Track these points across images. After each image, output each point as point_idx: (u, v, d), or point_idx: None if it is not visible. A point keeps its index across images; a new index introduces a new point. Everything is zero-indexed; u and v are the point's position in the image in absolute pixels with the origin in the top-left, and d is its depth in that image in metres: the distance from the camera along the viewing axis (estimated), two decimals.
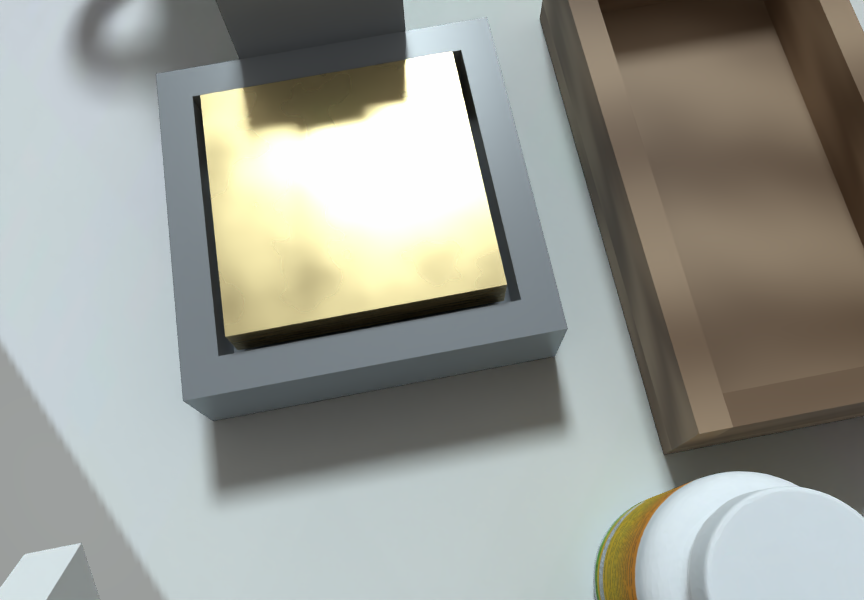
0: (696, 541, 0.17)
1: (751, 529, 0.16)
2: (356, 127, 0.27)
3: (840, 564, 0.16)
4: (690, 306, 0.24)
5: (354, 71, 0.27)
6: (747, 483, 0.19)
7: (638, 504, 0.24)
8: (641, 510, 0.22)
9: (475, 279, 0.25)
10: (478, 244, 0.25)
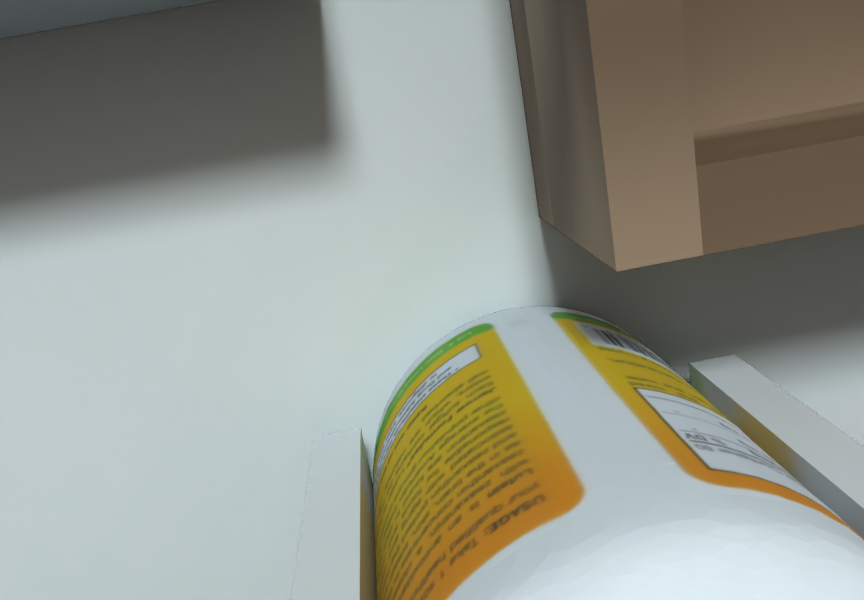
0: None
1: None
2: None
3: None
4: None
5: None
6: None
7: (465, 353, 0.11)
8: (450, 447, 0.09)
9: None
10: None
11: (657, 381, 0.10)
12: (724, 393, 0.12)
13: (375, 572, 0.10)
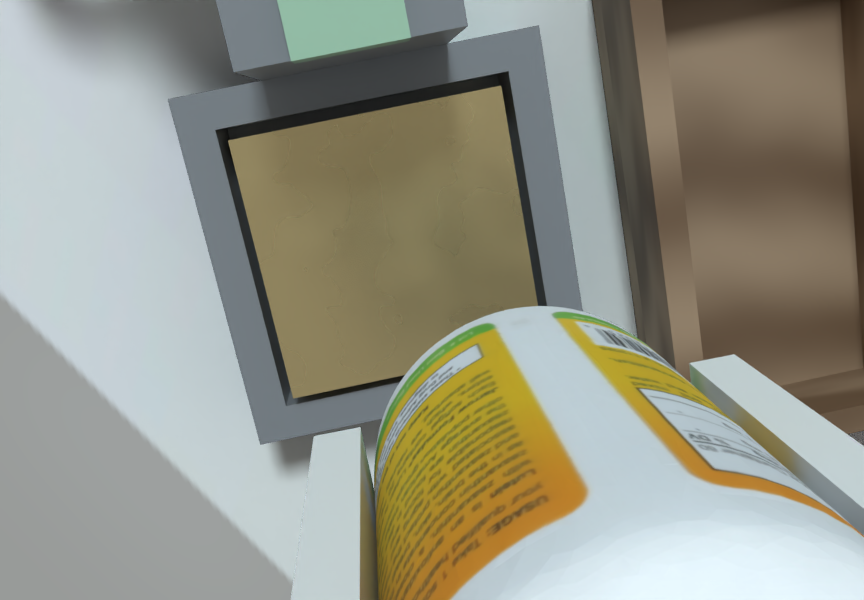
0: None
1: None
2: (400, 181, 0.26)
3: None
4: None
5: (395, 111, 0.25)
6: None
7: (467, 353, 0.11)
8: (453, 447, 0.09)
9: None
10: None
11: (660, 381, 0.10)
12: (724, 393, 0.12)
13: (375, 572, 0.10)
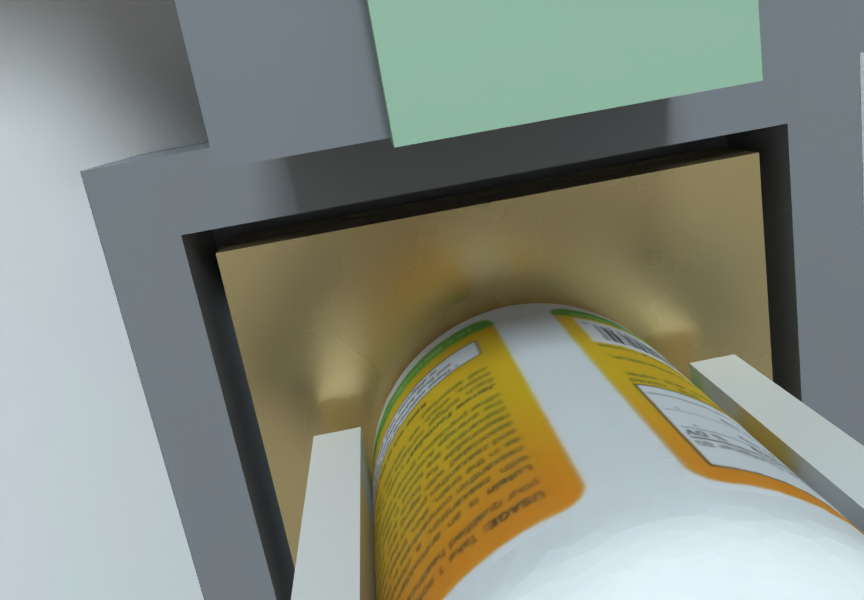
0: None
1: None
2: None
3: None
4: None
5: (549, 199, 0.13)
6: (734, 599, 0.06)
7: (465, 350, 0.11)
8: (450, 444, 0.09)
9: None
10: None
11: (657, 377, 0.10)
12: (724, 393, 0.12)
13: None
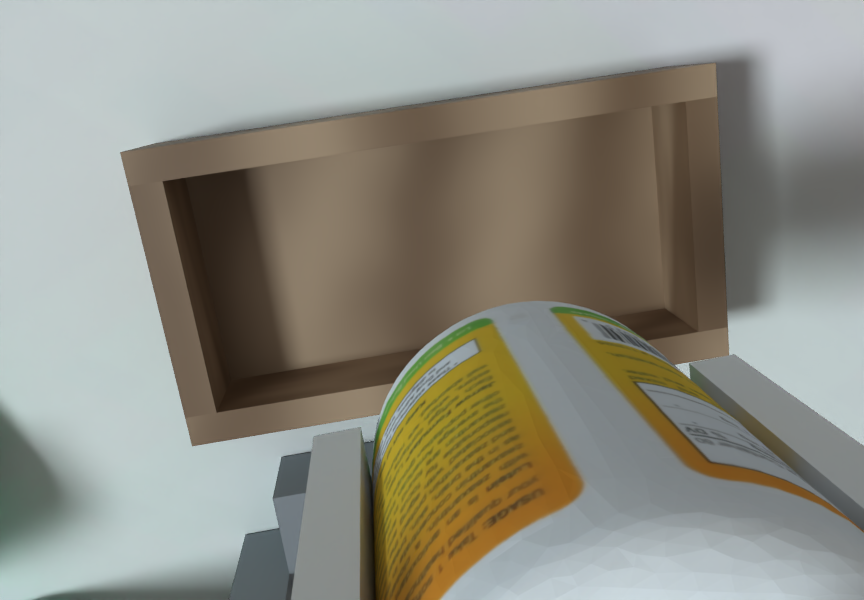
0: None
1: None
2: None
3: None
4: None
5: None
6: (733, 597, 0.06)
7: (464, 348, 0.11)
8: (449, 441, 0.09)
9: None
10: None
11: (657, 375, 0.10)
12: (724, 393, 0.12)
13: None
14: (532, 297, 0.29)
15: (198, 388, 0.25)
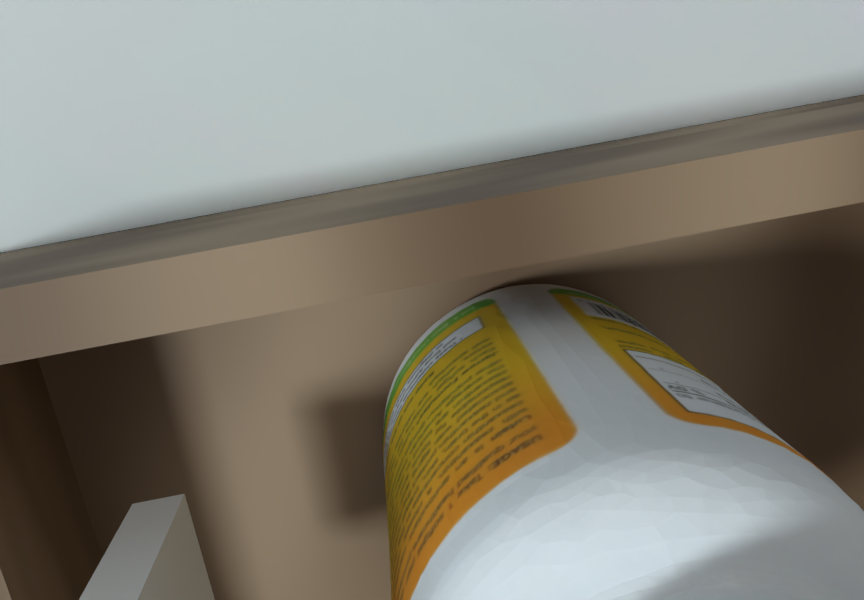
0: None
1: None
2: None
3: None
4: None
5: None
6: (703, 516, 0.07)
7: (469, 325, 0.12)
8: (456, 404, 0.10)
9: None
10: None
11: (645, 345, 0.11)
12: None
13: None
14: None
15: None
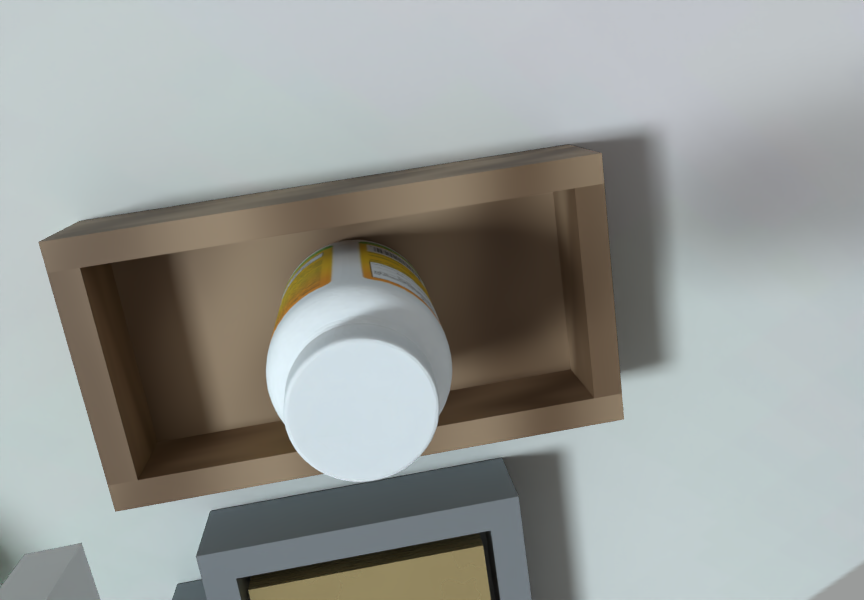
0: (293, 365, 0.20)
1: (326, 371, 0.20)
2: None
3: (393, 397, 0.20)
4: (519, 415, 0.28)
5: None
6: (359, 302, 0.22)
7: (317, 256, 0.27)
8: (300, 282, 0.25)
9: (476, 568, 0.30)
10: (446, 566, 0.30)
11: (383, 261, 0.25)
12: None
13: None
14: None
15: (120, 458, 0.27)
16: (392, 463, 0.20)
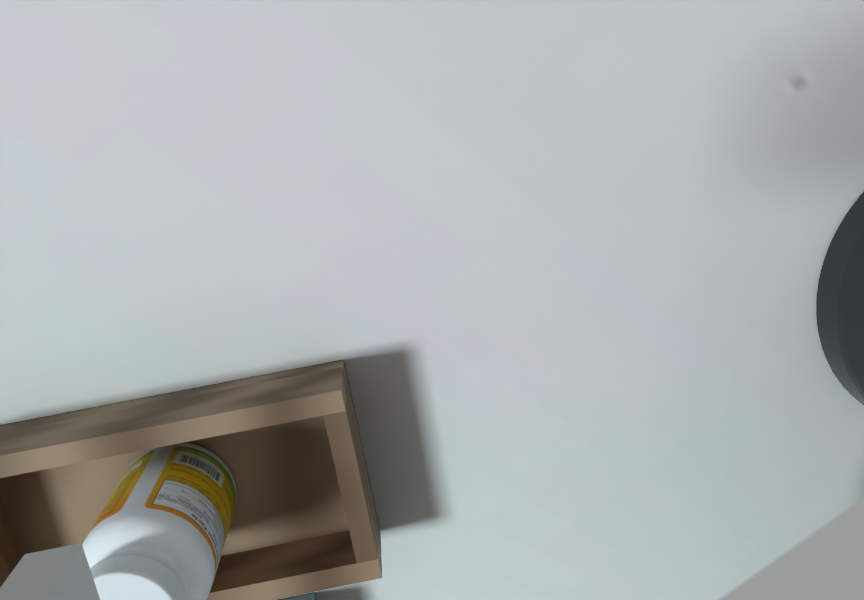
0: None
1: None
2: None
3: None
4: (298, 577, 0.36)
5: None
6: (133, 531, 0.30)
7: (139, 463, 0.36)
8: (114, 496, 0.34)
9: None
10: None
11: (177, 476, 0.34)
12: None
13: None
14: (255, 526, 0.39)
15: None
16: None
